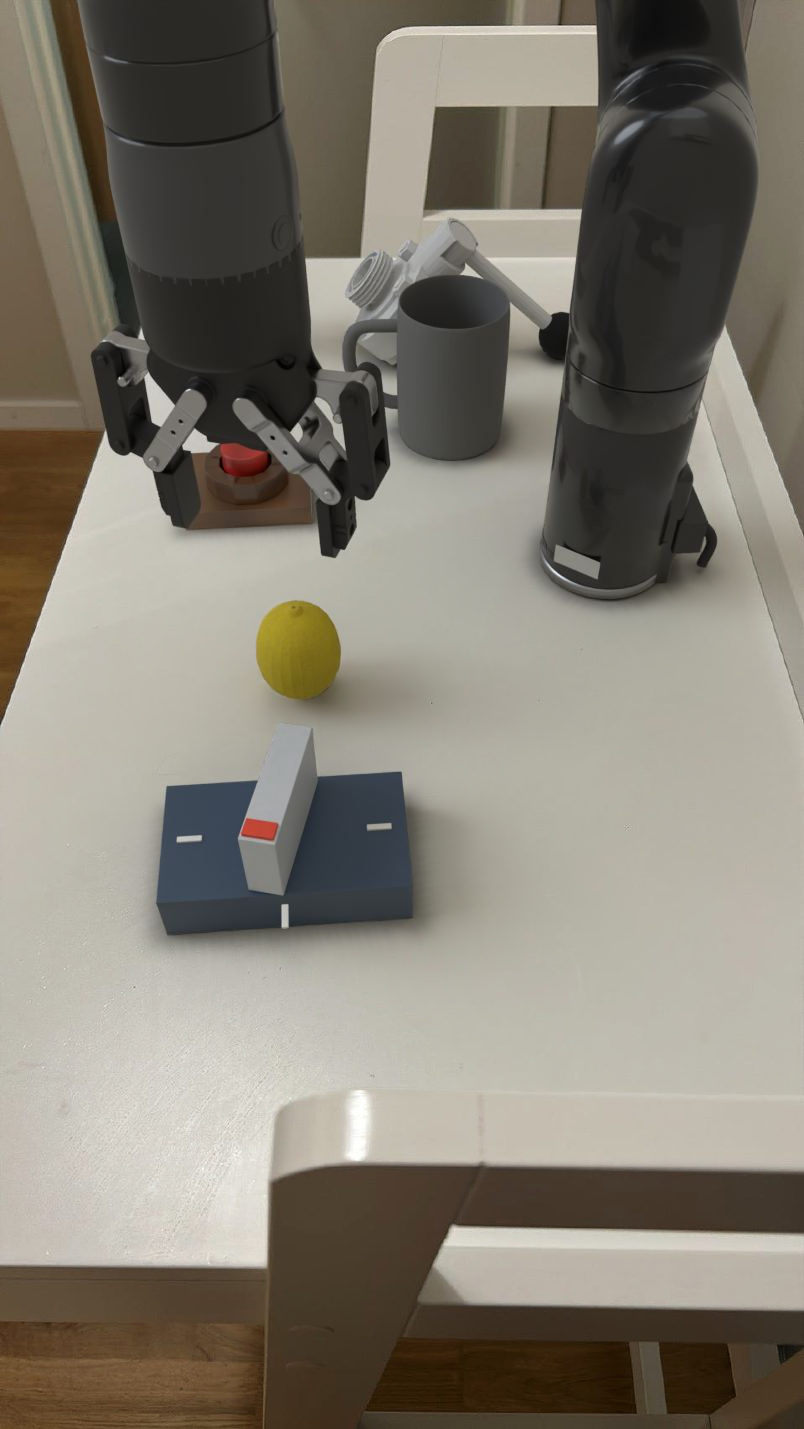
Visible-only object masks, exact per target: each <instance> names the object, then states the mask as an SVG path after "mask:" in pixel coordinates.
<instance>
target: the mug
mask: <svg viewBox="0 0 804 1429" xmlns="http://www.w3.org/2000/svg"><path fill="white" fill-rule="evenodd" d="M355 322H356V321H355ZM355 322H354V323H352V324H351V325H349V327H348V328H347V330H346V331H345V333H344V336H343V340H342V344H341V358H342V365H343V371H344V372H355V370H356V369H357V367H358V363H357V357H356V355H357V345H358V343H357V341H358V339H359V337H360V336H361V335H362V334H365V333H391V332H397V363H396V393H397V394H390V393H387V392H385V391H383V395H384V405H385V409H386V408H387V409H391V410H397V422H398V431H399V435H400V437H401V439H402V442H403V443H404V444H405V445H406V446H407V447H408V448H409V449H410V450H412V451H414V452H415V453H417V454H419V455H422V456H424V457H427V458H429V459H435V460H442V461H458V460H459V461H460V460H461V461H462V460H466V459H471V458H475V457H477V456H480V455H482V454H484V453H486V452H487V451H489V450H490V449H492V448H493V446H494V445H495V444H496V443H497V441H498V439H499V437H500V435H501V429H502V424H503V415H504V406H505V395H506V386H507V385H506V384H507V375H508V374H507V372H508V362H509V359H508V358H509V346H510V330H511V302H510V301H509V297H508V295H507V294H506V292H505V291H504V290H503V289H502V288H500V287H499V286H498V285H496V284H494V283H492V282H490V281H488V280H485V279H483V278H482V277H478V276H473V275H467V274H460V275H454V274H452V275H438V276H432V277H428V278H424V279H421V280H419V281H416V282H414V283H412V284H411V285H409V286H408V287H406V288H405V289H404V290H403V292H402V293H401V295H400V297H399V300H398V309H397V319H371V320H363V321H359V322H356V323H355Z"/></svg>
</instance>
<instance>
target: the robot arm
mask: <svg viewBox="0 0 804 1429" xmlns="http://www.w3.org/2000/svg"><path fill="white" fill-rule="evenodd" d="M76 1H77V6H78V11H79V18H80V22H81V27H82V34H83V37H84V38H83V39H84V41H85V48H86V52H87V57H88V61H89V65H90V70H91V74H92V75H91V76H92V80H93V84H94V88H95V94H96V99H97V102H98V107H99V113H100V116H101V119H102V125H103V126H102V127H103V131H104V132H103V133H104V138H105V147H106V149H105V150H106V160H107V171H108V180H109V185H110V190H111V191H110V192H111V196H112V200H113V204H114V212H115V217H116V221H117V223H118V228H119V232H120V237H121V241H122V246H123V250H124V255H125V259H126V263H127V268H128V273H129V278H130V282H131V286H132V291H133V296H134V300H135V305H136V309H137V313H138V318H139V322H140V327H141V331H142V335H143V339H142V338H139V337H138V335H137V332H136V331H135V329H133V327H131V326H130V325H129V324H125V323H119V324H117V325H116V326H115V327H114V328H113V329H112V330H111V331H110V332H108V333H107V335H106V336H104V338H103V339H102V340H100V342H99V343H98V344H97V345H96V347H94V349H93V350H92V351H91V353H90V361H91V366H92V370H93V375H94V379H95V385H96V390H97V395H98V399H99V403H100V409H101V413H102V418H103V422H104V426H105V432H106V436H107V441H108V442H107V443H108V445H109V447H110V449H111V450H112V451H113V452H114V453H115V454H117V455H119V456H122V457H123V456H124V457H126V456H128V455H130V453H131V454H133V455H134V456H137V457H138V458H141V459H142V461H143V463H144V465H145V466H146V467H147V469H149V470H150V471H152V474H153V479H154V483H155V487H156V491H157V496H158V499H159V503H160V508H161V509H162V511H163V513H164V514H165V515H166V516H167V517H168V516H169V518H170V522H171V525H172V526H173V527H175V528H179V529H185V530H186V529H187V528H188V527H189V526H190V525H191V523H192V522H193V521H194V519H195V518H196V516H197V515H198V513H199V512H200V509H201V499H200V494H199V489H198V484H197V479H196V474H195V469H194V464H193V459H192V454H191V453H192V451H191V450H186V449H184V447H183V445H184V444H185V443H186V442H187V440H188V439H189V437H190V436H191V435H192V433H193V432H194V430H196V431H197V432H198V433H200V434H201V435H203V436H205V437H206V442H208V443H212V444H217V445H218V444H230V443H237V444H239V445H242V446H244V447H247V448H249V449H251V450H257V451H262V452H266V451H267V450H268V448H269V449H270V450H271V452H272V453H273V454H274V455H275V456H276V458H277V459H278V460H279V461H280V462H281V464H282V465H283V466H284V467H285V468H286V470H287V471H288V472H290V473H291V474H299V475H300V476H301V477H302V478H303V479H304V480H305V482H306V483H307V484H308V485H309V486H310V488H311V491H313V493H314V494H315V495H316V496H317V499H316V501H315V510H316V519H317V530H318V531H317V532H318V540H319V549H320V555H321V557H326V558H330V559H331V558H332V559H336V558H337V557H338V556H339V553H340V551H345V550H346V549H347V548H348V545H349V543H350V542H351V539H352V538H353V536H354V534H355V533H356V530H357V527H358V523H357V522H358V521H357V509H356V508H357V507H356V499H358V500H361V501H365V502H366V501H367V502H368V501H371V500H372V499H374V497H375V495H376V493H377V491H378V490H379V487H380V486H381V484H382V482H383V480H384V479H385V476H386V475H387V473H388V471H389V470H390V467H391V455H390V446H389V438H388V437H389V434H388V425H387V415H386V414H387V413H386V407H385V405H384V395H383V392H384V386H383V377H382V371H381V369H380V368H379V367H378V366H377V365H376V364H375V363H374V362H370V361H362V362H360V363H359V364H358V365H357V369H356V370H355V372H345V370H343V371H342V370H333V369H323V367H322V365H321V363H320V362H319V360H318V358H317V357H316V355H315V353H314V350H313V347H312V316H311V306H310V295H309V282H308V274H307V262H306V249H305V239H304V238H305V237H304V230H303V229H304V228H303V218H302V208H301V197H300V183H299V174H298V167H297V166H298V165H297V159H296V155H295V149H294V145H293V141H292V137H291V132H290V126H289V122H288V117H287V116H288V115H287V111H286V104H285V103H286V101H285V91H284V90H285V89H284V82H283V70H282V61H281V60H282V59H281V48H280V39H279V28H278V18H277V11H276V10H277V9H276V2H275V0H76ZM594 11H595V28H596V52H597V55H596V56H597V117H596V130H595V137H594V141H593V145H592V150H591V155H590V159H589V165H588V169H587V174H586V178H585V180H586V181H585V184H584V191H583V197H582V203H581V212H580V222H579V229H578V237H577V246H576V254H575V261H574V262H575V264H574V271H573V280H572V290H571V296H570V297H571V298H570V304H569V312H568V313H569V332H568V340H567V348H566V356H565V358H564V365H563V373H562V380H561V388H560V389H561V390H560V397H559V405H558V413H557V421H556V428H555V435H554V436H555V437H554V443H553V444H554V445H553V451H552V460H551V467H550V474H549V475H550V476H549V483H548V490H547V497H546V498H547V499H546V505H545V506H546V507H545V514H544V523H543V527H542V532H541V538H540V543H539V551H538V556H539V561H540V565H541V567H542V569H543V570H544V572H545V573H546V574H547V576H548V577H549V578H550V579H551V580H552V581H553V582H554V583H555V584H557V585H559V586H560V587H562V588H563V589H566V590H567V591H570V592H572V593H575V594H577V595H581V596H585V597H587V598H592V599H593V598H594V599H601V600H602V599H604V600H615V599H622V598H623V599H625V598H628V597H631V596H635V595H637V594H640V593H642V592H644V591H646V590H648V589H649V588H651V587H652V586H653V585H654V584H656V583H665V582H668V581H669V579H670V575H671V572H672V569H673V568H672V567H673V563H674V560H675V555H678V554H679V555H681V554H700V555H699V557H698V558H697V561H696V563H695V565H696V566H697V567H699V568H703V569H704V568H707V566H708V564H709V562H710V560H711V559H712V557H713V555H714V553H715V551H716V549H717V546H718V536H717V532H716V530H715V529H714V527H713V526H712V525H711V524H710V523H709V521H708V518H707V515H706V513H705V511H704V508H703V506H702V504H701V502H700V499H699V496H698V494H697V492H696V490H695V487H694V473H693V470H692V468H691V466H690V463H689V460H688V458H689V455H690V451H691V446H692V441H693V438H694V434H695V429H696V426H697V421H698V417H699V413H700V408H701V405H702V400H703V396H704V393H705V388H706V384H707V380H708V375H709V371H710V368H711V364H712V362H713V357H714V352H715V348H716V346H717V343H718V341H719V340H720V338H721V336H722V334H723V333H724V332H723V331H724V330H725V326H726V322H727V318H728V315H729V310H730V307H731V303H732V300H733V295H734V292H735V288H736V285H737V281H738V277H739V273H740V271H741V270H740V269H741V266H742V262H743V258H744V254H745V252H746V247H747V243H748V240H749V236H750V231H751V227H752V223H753V219H754V215H755V210H756V205H757V200H758V194H759V187H760V177H761V176H760V173H761V172H760V171H761V170H760V150H759V148H760V147H759V132H758V131H759V130H758V123H757V114H756V108H755V104H754V99H753V96H752V91H751V90H752V89H751V86H750V79H749V72H748V65H747V58H746V51H745V44H744V43H745V42H744V36H743V28H742V27H743V26H742V17H741V8H740V0H594ZM148 374H149V376H150V378H151V379H152V380H153V382H155V384H156V386H158V387H159V388H160V390H161V391H162V393H164V395H166V397H167V398H168V399H169V400H170V401H171V403H172V404H173V405H174V407H173V408H172V410H171V411H170V413H169V414H168V416H167V417H166V419H165V420H164V422H163V423H162V424H161V426H160V425H158V424H156V423H154V422H153V421H152V414H151V413H152V412H151V409H150V408H151V407H150V402H149V396H148V391H147V385H146V379H145V377H146V376H147V375H148ZM317 398H318V399H321V400H323V401H325V402H326V403H327V405H328V406H329V408H330V411H331V414H332V415H333V416H332V421H333V422H334V423H335V424H337V425H341V426H342V434H343V441H344V448H343V446H342V444H340V442H339V441H338V440H337V439H336V437H335V435H334V427H333V424H332V422H331V421H330V419H329V418H328V417H327V416H326V414H325V413H324V412H323V411H322V409H321V408H320V407H319V406H318V404H317V403H316V399H317ZM297 425H299V426H300V428H301V431H302V434H301V437H300V439H299V440H297V439H296V438H295V437H294V436H293V435H292V433H291V432H292V431H293V430H294V429H295V427H296V426H297ZM704 540H705V545H704V548H703V550H702V547H703V544H704Z"/></svg>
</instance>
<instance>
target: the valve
mask: <svg viewBox="0 0 804 1429" xmlns="http://www.w3.org/2000/svg"><path fill="white" fill-rule="evenodd" d="M478 246H479V241H478V240H477V237H476V236H475V235H474V234H473V232H472V231H471V229H470V228H469V227H468V226H467V225H466V224H465V223H464V222H462V220H460V219H457V218H455V217H447V218H446V219H444V220H443V222H442V223H440V225H439V226H438V227H437V228H436V229H435V230H434V231H433V232H432V234H431V235H429V237H428V238H427V239H426V240H425V241H424V242H423V243H420V242H419V243H416V242H414V241H413V240H412V239H411V238H408V239H406V240H405V241H404V242H403V243H402V244H401V245H400V247H399V250H398V251H397V257H396V258H395V259H394V258H393V257H391V256H390V254H388V253H387V252H386V251H384V250H383V248H376V249H373V250H372V251H371V252H369V253H368V254H367V256H365V258H363V260H362V261H361V262H360V263H359V265H358V267H356V269H355V270H354V272H353V273H352V275H351V277H350V279H349V281H348V283H347V285H346V287H345V292H344V297H345V298H346V299H348V300H349V301H350V302H351V303H353V304H355V306H357V307H358V308H359V312H358V314H357V316H356V319H355V322H354V323H356V322H359V321H363V320H371V319H397V309H398V300H399V297H400V295H401V293H402V292H403V290H404V289H405V288H406V287H408V286H409V285H411V284H412V283H414V282H416V281H419V280H421V279H424V278H428V277H432V276H438V275H452V274H454V275H462V273H463V272H464V271H465V269H466V265H467V266H468V267H469V268H470V269H471V270H473V272H475V273H476V275H478V276H480V278H482V279H485V280H488V281H490V282H492V283H494V284H496V285H498V286H499V287H500V288H502V289H503V290H504V291H505V292H506V294H507V295H508V297H509V301H510V304H512V305H513V306H514V307H515V308H516V309H517V310H518V311H520V313H522V314H523V315H524V316H525V317H526V318H527V319H529V321H531V322H532V323H533V324H534V325H536V326H537V327H538V329H539V330H538V334H537V336H538V344H539V346H540V348H541V349H542V351H543V353H544V354H545V355H547V356H549V357H551V358H552V359H557V360H562V359H565V356H566V348H567V340H568V332H569V312H566V311H558V312H554V313H552V314H550V313H549V312H547V311H546V309H544V308H543V307H542V306H541V305H539V303H537V302H536V301H535V300H534V299H533V297H531V296H529V295H528V293H526V292H525V291H524V290H523V289H522V288H520V287H519V286H518V285H517V283H515V282H513V281H512V280H511V279H510V278H509V277H508V276H507V275H506V274H505V273H503V271H501V270H500V269H499V268H498V267H496V265H495V264H494V263H492V262H491V261H490V260H489V259H487V258H486V257H485V256H484V255H483V254H482V253H481V252H480V251H479V250H477V247H478ZM357 344H358V345H360V346H361V347H362V348H364V350H366V351H368V352H369V353H370V354H372V355H373V356H374V357H376V358H377V359H378V360H380V361H385V362H386V363H388V364H389V365H391V366H395V365H397V332H391V333H365V334H362V335H361V336H360V337H359V339H358V341H357Z"/></svg>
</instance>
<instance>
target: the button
mask: <svg viewBox="0 0 804 1429" xmlns="http://www.w3.org/2000/svg"><path fill="white" fill-rule="evenodd" d="M221 456H222V462H223V468H224V470H225V471H226V472H227V473H228V474H230V475H233V476H236V477H250V476H255V475H257V474H260V473H262V472H264V471H265V470H266V469H267V467H268V463H269V462H268V454H267V451H266V452H262V451H257V450H251V449H249V448H247V447H244V446H242V445H239V444H237V443H230V444H222V445H221Z"/></svg>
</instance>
